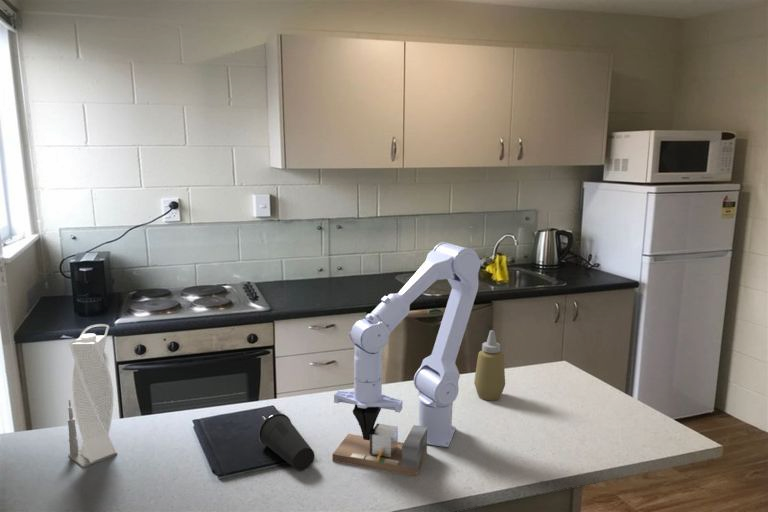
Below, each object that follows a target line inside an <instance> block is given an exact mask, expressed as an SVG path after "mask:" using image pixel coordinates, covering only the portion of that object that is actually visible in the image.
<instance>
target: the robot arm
mask: <svg viewBox="0 0 768 512" xmlns="http://www.w3.org/2000/svg"><path fill="white" fill-rule="evenodd" d="M481 266H482V261H481V259H480V257H479V256H478V254H477V252H476V251H475V250H474V249H473V248H470V247H463V246H460V245H456V244H453V243H450V242H447V241H442V242H439V243H437V244H436V245H435V246H434V248H433V249H432V250H431V251H429V252H428V253H427V255H426V259H425V261H424V262H423V263H422V265H420V267H419V268H418V269H417V270H416V272H415V273H414V274H413V275H412V276H411V277H410V278H409V280H407V282H406V283H405V284H404V285H403V287H402V288H400V290H399V291H398V292H397V293H389V294H388V295H387V296H386V295H384V296H383V297H381V299H380V301H381V302H380V303H379V304H378V305H376V307H375V308H374V309H373V310H372V311H371V312H370V313H367V314H366V315H365V318H362V319H359V320H357V321H356V322H355V323H354V324H353V325H352V328H351V330H350V332H348V337H349V340H350V341H351V342H352V343H353V348H354V349H353V352H354V354H353V355H354V356H353V359H354V360H353V366H354V367H353V370H354V373H353V378H354V382H353V384H354V385H353V390H351V391H348V390H347V391H346V390H345V391H343V390H336V392H335V393H334V394H333V403H335V404H340V403H344V404H350V405H354V408H353V409H352V414H353V416H354V417H355V419H356V421H357V422H358V425H359V427H360V431H361V434H362V435H361V436H363V439H364V440H370V433H371V432H372V430H373V429H374V427H375V426H376V421H377V419H378V417H379V414H380V412H381V410H383V409H384V410H391V411H394V412H395V413H401V412H402V410H403V399H398V398H395V397H391V396H389V395H386V394H382V392H383V391H382V390H383V389H382V384H383V383H382V379H383V378H382V376H383V371H382V370H383V367H382V366H383V363H382V362H383V355H382V354H383V349H384V348H385V347H386V346H387V344H388V340H389V336H390V335H391V333H392V332H393V331H394V329H396V327H397V326H398V325H399V324H400V323H401V322H403V320H404V319H405V318H406V317H407V316H408V315H409V314H410V308H411V307H410V306H411V304H412V303H413V302H414V301H415V300H416V299H417V298H418V297H419V296H421V295H422V294H423V293H424V292H425V291H427V289H428V288H429V287H430V286H432V285H433V284H434V283H435V282H436V281H439V280H440V281H441V280H447V281H448V283H449V286H450V287H451V290H450V294H449V297H448V300H447V303H446V307H445V309H444V310H445V311H444V312H443V316H442V320H441V321H440V325H439V326H440V327H439V329H438V333H437V335H436V339H435V341H434V342H435V343H434V346H433V348H432V351H431V354H430V355H428V356H427V357H425V358H423V359H422V362H421V365H420V367H419V368H418V369H417V371H416V372H415V374H414V376H413V385H414V387H415V389H417V390H418V426H423V427H427V445H431V446H437V447H442V448H443V447H444V448H449V447H450V445H451V441H452V439H453V437H454V434H455V432H456V429H457V426H455V425H452V424H453V403H454V402H455V400H456V399H457V398H458V395H459V380H460V378H461V377H460V376H461V375H460V372H459V369H458V367H457V365H456V361H457V358H458V354H459V351H460V348H461V344H462V341H463V339H464V335H465V332H466V328H467V325H468V322H469V319H470V316H471V313H472V309H473V306H474V302H475V299H476V296H477V293H478V290H479V272H480V269H481ZM417 390H416V391H417Z"/></svg>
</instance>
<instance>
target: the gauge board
mask: <svg viewBox="0 0 768 512" xmlns="http://www.w3.org/2000/svg"><path fill="white" fill-rule="evenodd" d="M427 454H428V444H427V427H423V426H419V425H415V424H414V425H413V426H412V427H411V430H410V431H409V433H408V435H407V436H406V438H405V440H404V441H403V442H402V441H401V442H400V441H398V446H397V448H396V449H395V451H394V453H393V455H392V456H391V457H385V456H382V457H381V458H380V460H377V456H378V455H374V454H370V440H364V439H363V435H359V434H351V433H347V434H346V436H345V437H344V439H343V440H342V441H341V443H340V444H339V445H338V446H337V448H335V450H334V452H333V453H332V458H331V459H332V461H333V462H337V463H343V464H349V465H353V466H360V467H365V468H371V469H377V470H381V471H387V472H393V473H399V474H404V475H407V476H412V477H416V476H417V475H418V473H419V470H420V468H422V464H423V462H424V461H425V458H426V456H427Z"/></svg>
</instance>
